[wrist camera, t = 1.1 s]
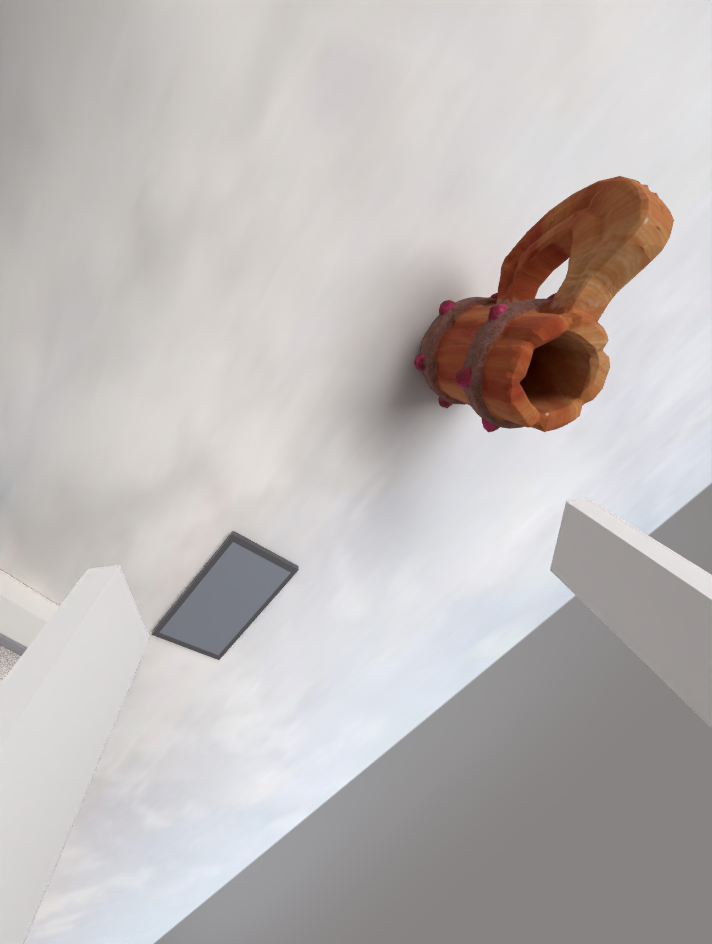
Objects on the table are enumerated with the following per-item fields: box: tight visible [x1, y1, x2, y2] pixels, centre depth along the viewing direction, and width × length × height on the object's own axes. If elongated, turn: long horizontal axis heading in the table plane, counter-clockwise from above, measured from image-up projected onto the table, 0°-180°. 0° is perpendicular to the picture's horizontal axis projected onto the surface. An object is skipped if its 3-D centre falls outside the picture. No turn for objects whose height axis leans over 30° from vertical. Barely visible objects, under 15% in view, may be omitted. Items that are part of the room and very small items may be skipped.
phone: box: [152, 531, 299, 660], centre depth 38 cm, size 8×15×1 cm, turn 139°
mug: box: [414, 176, 674, 432], centre depth 24 cm, size 15×8×15 cm, turn 158°
